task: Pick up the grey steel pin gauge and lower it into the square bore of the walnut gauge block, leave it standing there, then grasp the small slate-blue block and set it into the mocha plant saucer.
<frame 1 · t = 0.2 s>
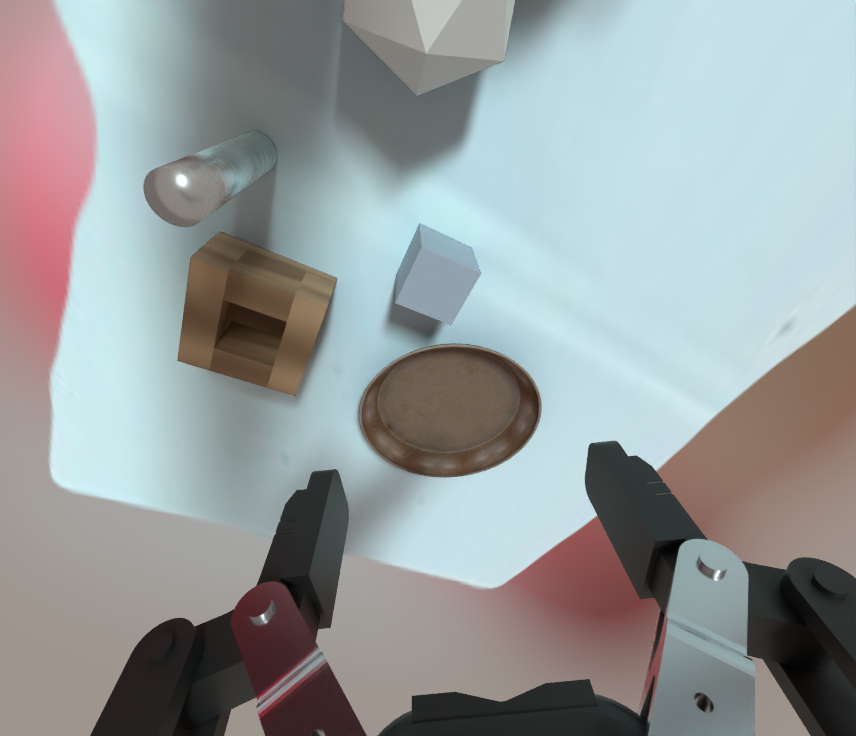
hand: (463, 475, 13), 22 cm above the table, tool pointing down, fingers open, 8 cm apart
bore block: (268, 303, 33), on the table
plant saucer: (447, 399, 41), on the table
slate block: (433, 260, 32), on the table
pin gauge: (258, 151, 26), on the table
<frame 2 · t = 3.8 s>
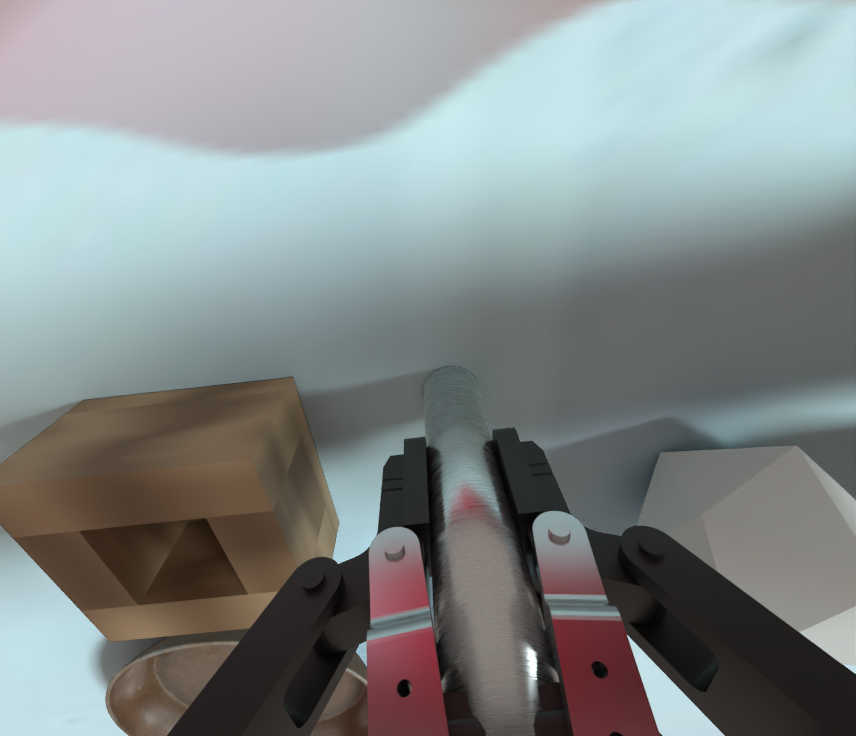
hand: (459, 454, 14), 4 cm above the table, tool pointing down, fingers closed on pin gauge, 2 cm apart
bore block: (225, 468, 19), on the table
plant saucer: (266, 664, 29), on the table
pin gauge: (450, 390, 17), on the table, touching gripper
die: (690, 476, 21), on the table
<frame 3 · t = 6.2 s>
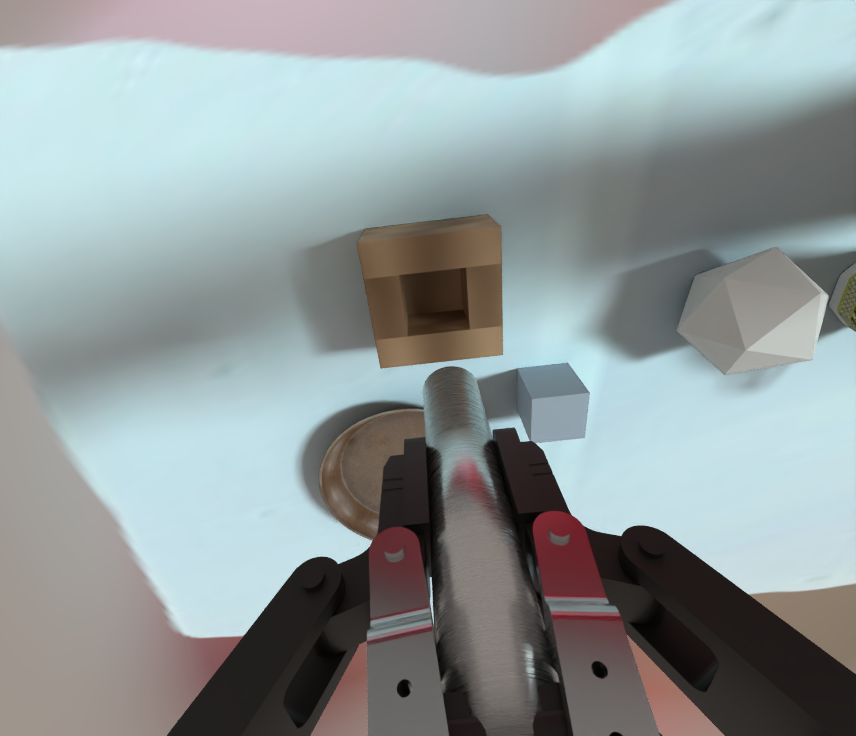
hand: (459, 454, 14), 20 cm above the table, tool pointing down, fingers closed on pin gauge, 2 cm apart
bore block: (432, 281, 31), on the table
plant saucer: (411, 463, 41), on the table
slate block: (541, 386, 36), on the table
pin gauge: (450, 390, 17), point 16 cm above the table, touching gripper
die: (712, 296, 33), on the table
when the fingers open (6 cm above the table, at t = 8.8 s): pin gauge stays where it is, resting on bore block.
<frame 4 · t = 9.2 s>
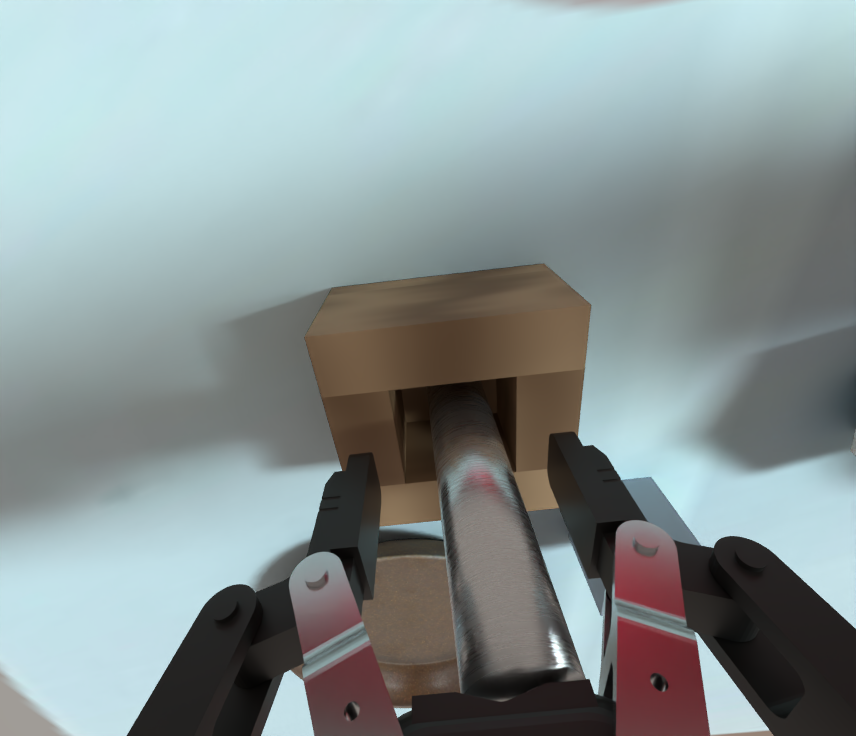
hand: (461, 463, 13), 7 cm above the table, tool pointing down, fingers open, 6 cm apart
bore block: (446, 368, 19), on the table
plant saucer: (412, 598, 29), on the table
slate block: (607, 507, 24), on the table
pin gauge: (452, 378, 18), point 1 cm above the table, touching bore block
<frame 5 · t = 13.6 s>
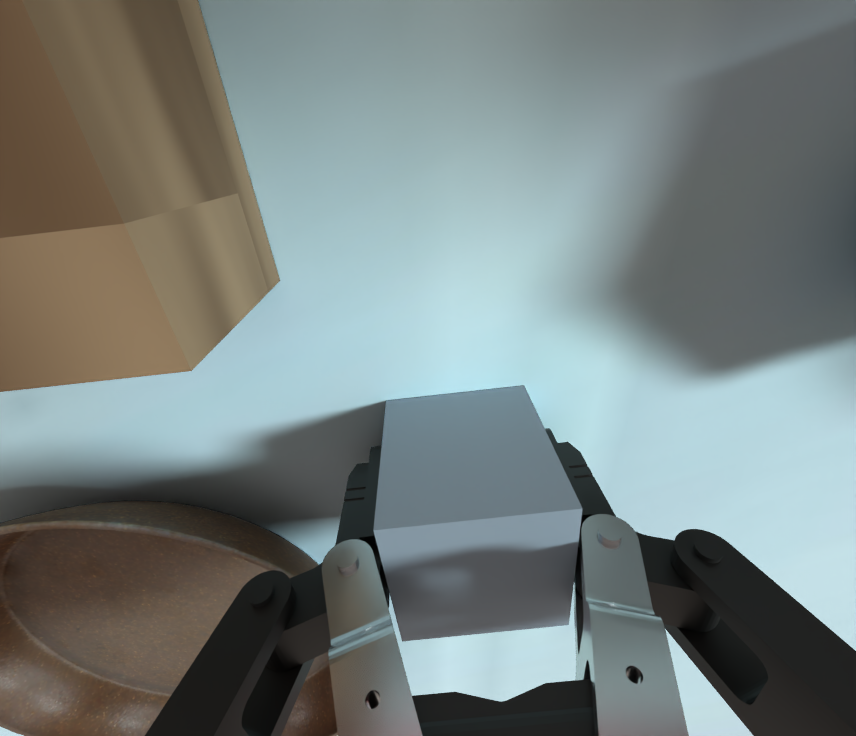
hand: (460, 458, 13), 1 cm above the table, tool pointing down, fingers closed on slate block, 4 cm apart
bore block: (19, 104, 9), on the table
plant saucer: (192, 600, 19), on the table
slate block: (459, 446, 14), on the table, touching gripper
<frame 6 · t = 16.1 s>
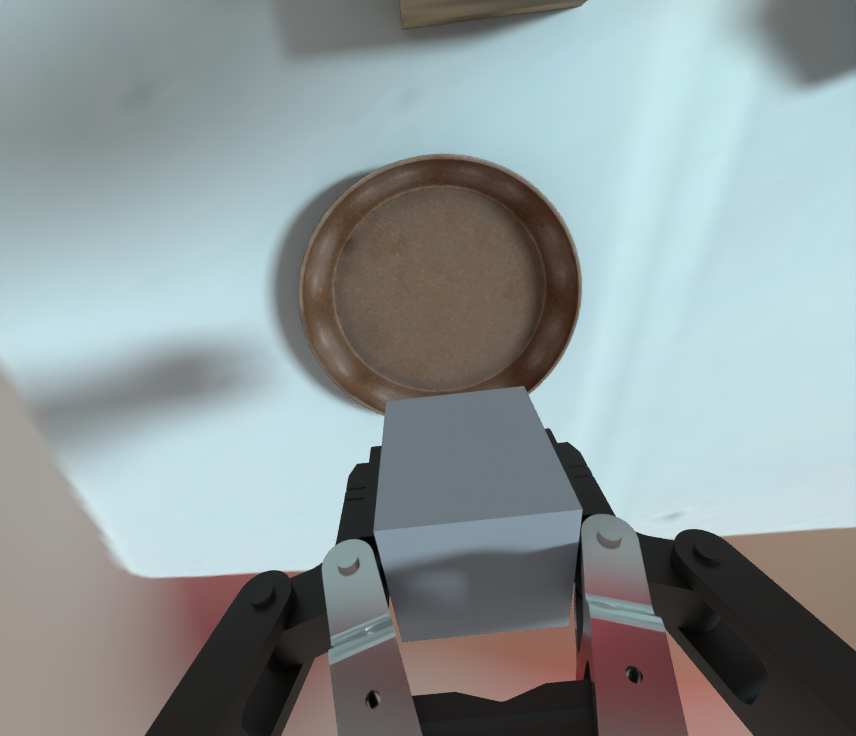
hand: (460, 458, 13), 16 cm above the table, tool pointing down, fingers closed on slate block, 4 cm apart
plant saucer: (438, 296, 28), on the table
slate block: (459, 447, 14), point 15 cm above the table, touching gripper
when the fingers open (3 cm above the table, at t = 18.8 s): slate block stays where it is, resting on plant saucer.
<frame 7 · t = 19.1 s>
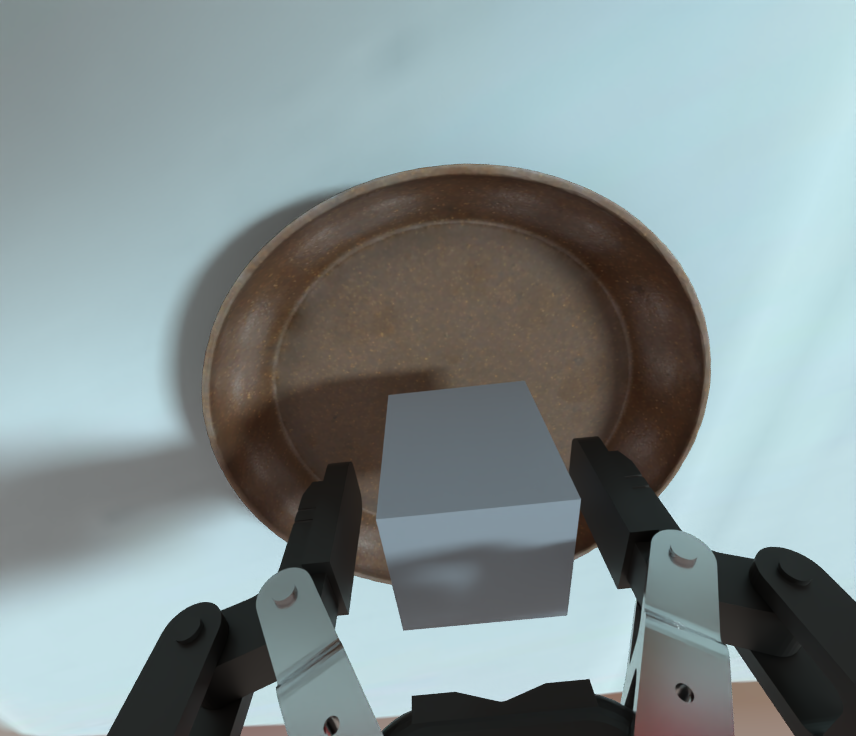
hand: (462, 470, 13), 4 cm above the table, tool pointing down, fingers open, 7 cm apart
plant saucer: (450, 393, 17), on the table, touching slate block
slate block: (460, 441, 14), point 3 cm above the table, touching plant saucer
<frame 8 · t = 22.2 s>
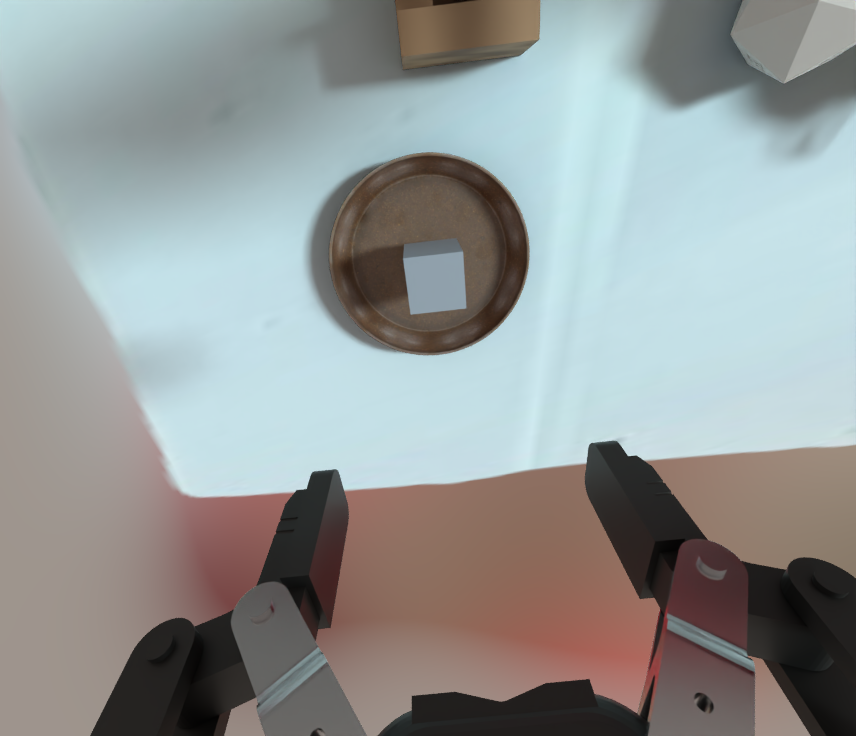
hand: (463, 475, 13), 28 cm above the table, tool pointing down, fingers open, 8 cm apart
plant saucer: (428, 257, 38), on the table, touching slate block
slate block: (432, 267, 35), point 3 cm above the table, touching plant saucer
die: (766, 16, 30), on the table
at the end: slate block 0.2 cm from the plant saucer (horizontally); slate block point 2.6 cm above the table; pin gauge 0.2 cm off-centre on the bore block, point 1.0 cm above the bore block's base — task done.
